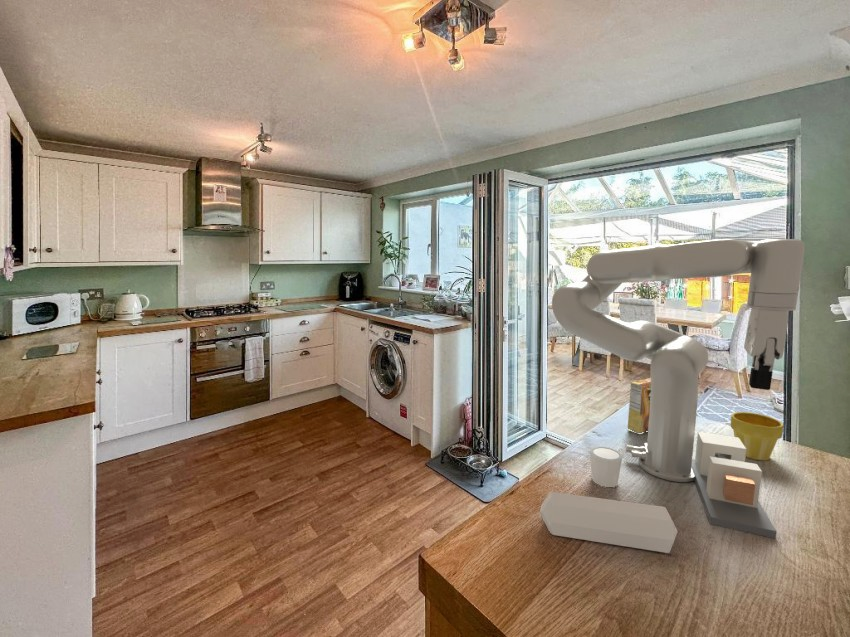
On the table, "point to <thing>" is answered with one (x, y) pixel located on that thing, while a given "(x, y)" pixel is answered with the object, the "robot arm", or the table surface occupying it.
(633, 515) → the crystal
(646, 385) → the candy box
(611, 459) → the shot glass
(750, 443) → the plant pot
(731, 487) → the shaft
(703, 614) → the table surface
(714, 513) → the bearing base
